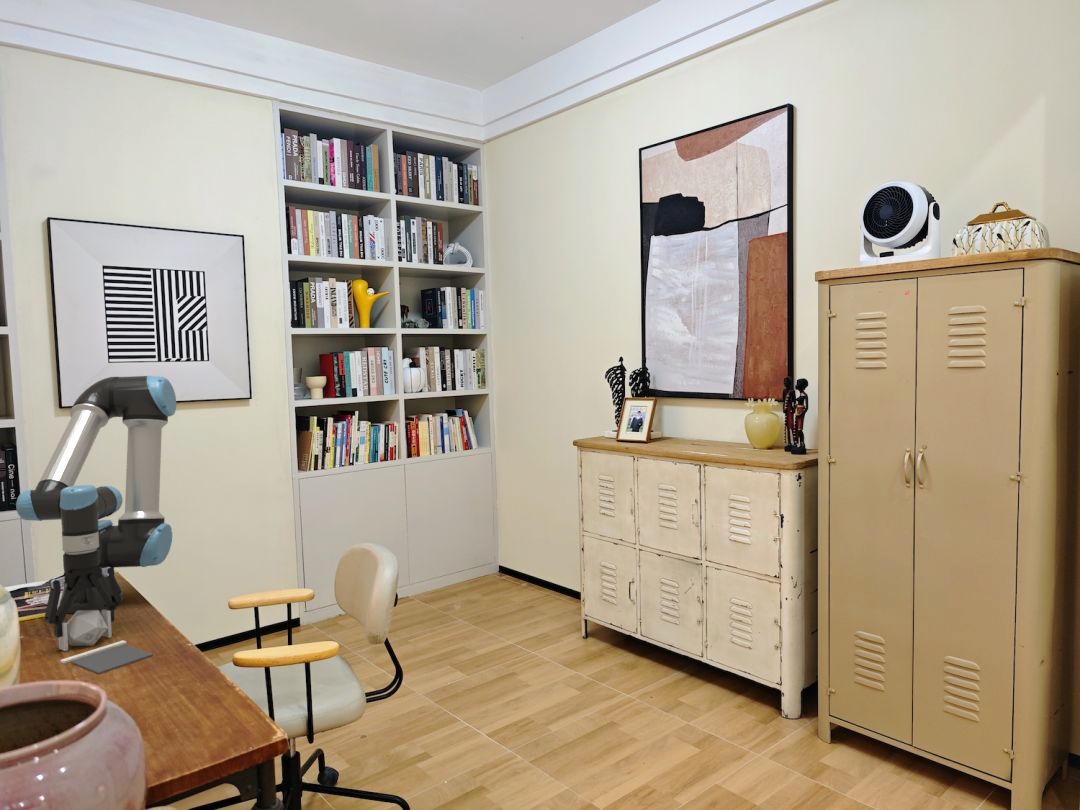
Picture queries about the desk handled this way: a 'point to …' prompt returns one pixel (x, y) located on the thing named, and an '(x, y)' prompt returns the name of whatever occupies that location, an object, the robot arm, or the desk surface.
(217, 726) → the desk surface
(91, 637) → the die
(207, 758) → the desk surface
